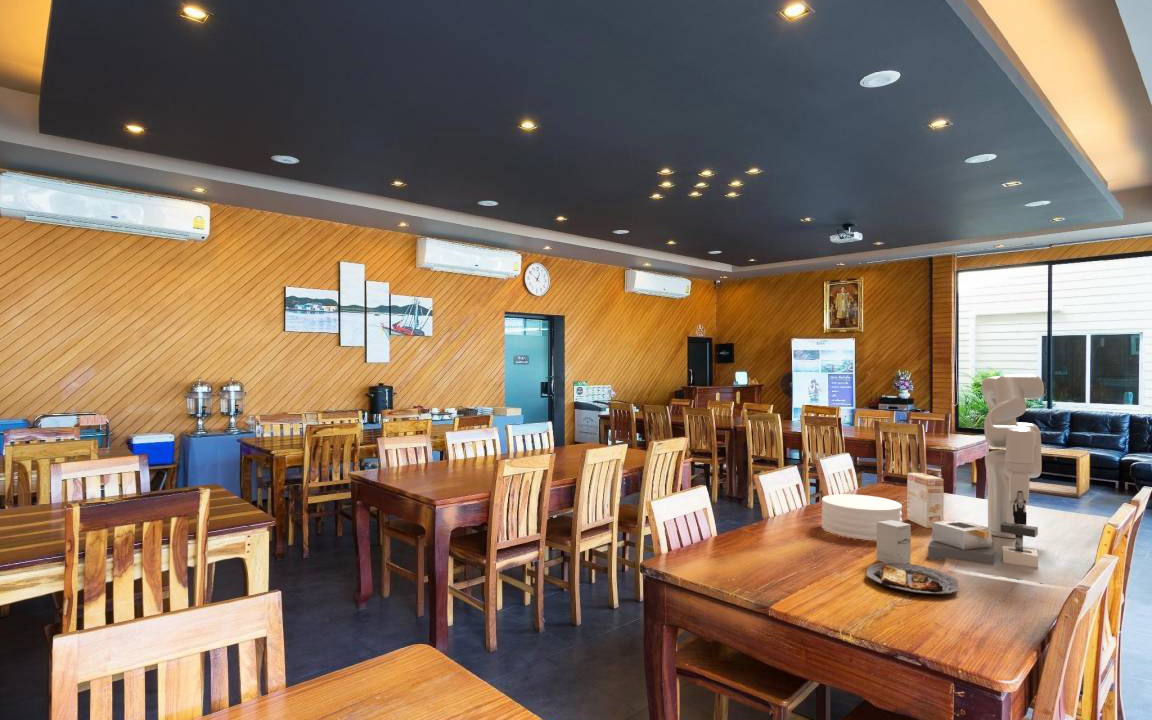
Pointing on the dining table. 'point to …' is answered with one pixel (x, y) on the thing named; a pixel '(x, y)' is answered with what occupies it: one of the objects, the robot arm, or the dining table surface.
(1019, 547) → the block
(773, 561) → the dining table surface
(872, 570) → the food plate
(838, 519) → the plate stack
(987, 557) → the grey flat slab
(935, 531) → the chuck
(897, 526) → the supplement box
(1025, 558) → the key stand
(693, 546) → the dining table surface
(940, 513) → the coffeecake box
